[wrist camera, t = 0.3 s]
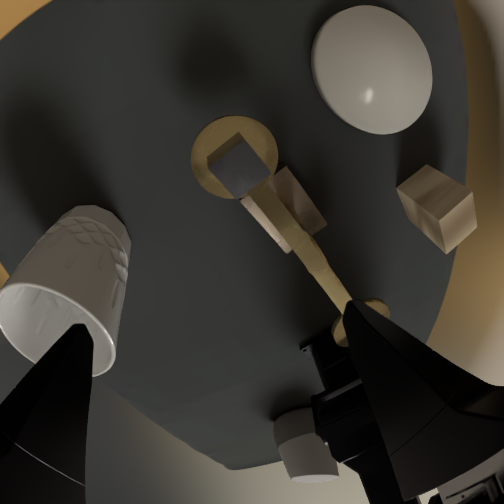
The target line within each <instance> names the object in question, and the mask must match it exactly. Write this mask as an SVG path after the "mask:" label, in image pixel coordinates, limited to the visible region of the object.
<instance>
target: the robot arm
mask: <svg viewBox="0 0 504 504" xmlns="http://www.w3.org/2000/svg"><path fill="white" fill-rule="evenodd" d="M342 323H343V327H344V330H345V333H346V337H347V340H348V344H349V347H342V346H340V345H338V344H337V343H336V341H335V339H334V337H333V335H332V328H331V329H329V330H327V331H326V332H324V333H323V334H321V335H319V336H318V337H316V338H315V339H313V340H311V341H310V342H308V343H306V344H305V345H303V346H301V347H300V351H301V353H302V354H304V355H305V356H306V357H308V358H309V359H311V360H312V361H313V362H315V364H316V367H317V369H318V372H319V375H320V377H321V380H322V383H323V386H324V388H325V391H323V392H321V393H319V394H317V395H313V396H311V407H312V413H313V419H314V424H315V434H316V436H318V437H320V438H321V439H322V441H323V442H324V443H325V444H326V445H327V446H329V449H330V453H331V456H332V457H333V458H334V459H335V460H336V461H337V462H339V463H343V464H345V465H346V466H348V467H349V468H351V469H352V470H354V471H356V472H357V473H358V474H359V476H360V479H361V481H362V484H363V487H364V489H365V492H366V495H367V497H368V500H369V503H370V504H421V501H420V499H419V495H422V494H424V493H426V492H428V491H431V490H433V489H435V488H437V489H438V491H439V493H437V494H436V495H434V496H432V497H431V498H430V500H429V502H428V504H504V386H494V385H491V384H488V383H486V382H484V381H483V380H481V379H479V378H477V377H476V376H474V375H472V374H470V373H469V372H467V371H465V370H463V369H462V368H460V367H458V366H456V365H455V364H453V363H451V362H450V361H449V360H447V359H446V358H444V357H443V356H441V355H440V354H438V353H437V352H435V351H433V350H432V349H431V348H430V347H428V346H427V345H425V344H424V343H422V342H421V341H420V340H418V339H417V338H415V337H414V336H412V335H411V334H409V333H408V332H407V331H405V330H404V329H402V328H401V327H399V326H398V325H396V324H395V323H393V322H392V321H390V320H389V319H387V318H386V317H385V316H383V315H382V314H380V313H379V312H377V311H376V310H374V309H373V308H371V307H370V306H368V305H367V304H365V303H364V302H362V301H361V300H359V299H355V300H349V301H348V302H347V303H346V306H345V310H344V313H343V317H342ZM93 351H94V342H93V338H92V337H91V335H90V333H89V331H88V329H87V327H86V325H85V324H83V323H75V324H73V325H72V326H71V327H70V328H69V329H68V330H67V331H66V332H65V333H64V334H63V335H62V336H61V337H60V338H59V339H58V340H57V341H56V342H55V343H54V344H53V345H52V346H51V348H50V349H49V350H48V351H47V352H46V353H45V354H44V355H43V356H42V357H41V358H40V359H39V361H38V362H37V363H36V364H35V365H34V366H33V367H32V368H31V369H30V371H29V372H28V373H27V374H26V375H25V377H23V379H22V380H21V381H20V382H19V383H18V384H17V386H16V387H15V388H14V389H13V390H12V391H11V393H10V394H9V395H8V396H7V397H6V398H5V400H4V401H3V402H2V403H1V404H0V504H86V500H85V499H86V498H85V455H86V436H87V423H88V412H89V403H90V394H91V386H92V370H93Z"/></svg>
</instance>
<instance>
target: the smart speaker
mask: <svg viewBox="0 0 504 504" xmlns="http://www.w3.org/2000/svg"><path fill="white" fill-rule="evenodd" d="M273 431H274V438H275V442H276V445H277V448H278V450H279V453H280V455H281V458H282V460H283V462H284V465H285V467H286V469H287V472H288V474H289V476H290V479H291V480H292V481H296V482H305V483H315V482H316V483H317V482H327V481H332V480H335V479H338V478H339V473H338V467H337V462H336V460H335V459H334V458H333V457H332V456H331V453H330V449H329V446H327V445H326V444H325V443H324V442H323V441H322V439H321V438H320V437H318V436H316V434H315V424H314V419H313V413H312V407H300V408H296V409H293V410H290V411H287V412H285V413H284V414H282V415H281V416H279V417H278V418H277V419H276V421H275V423H274V429H273Z"/></svg>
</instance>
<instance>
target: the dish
mask: <svg viewBox="0 0 504 504" xmlns="http://www.w3.org/2000/svg"><path fill="white" fill-rule="evenodd" d="M311 69H312V75H313V79H314V82H315V85H316V87H317V90H318V92H319V94H320V96H321V97H322V99H323V101H324V102H325V104H326V105H327V106H328V108H329V109H330V110H331V111H332V112H333V113H334V114H335V115H336V116H338V117H339V118H340V119H341V120H343V121H344V122H346V123H347V124H349V125H351V126H354V127H356V128H358V129H361V130H363V131H366V132H369V133H374V134H392V133H396V132H399V131H401V130H404V129H405V128H407V127H409V126H410V125H411V124H413V123H414V122H415V121H416V120H417V119H418V118H419V117H420V115H421V114H422V112H423V111H424V109H425V107H426V105H427V103H428V100H429V97H430V93H431V88H432V68H431V63H430V59H429V56H428V53H427V50H426V48H425V46H424V44H423V42H422V40H421V38H420V37H419V35H418V34H417V33H416V31H415V30H414V29H413V28H412V27H411V26H410V25H409V24H408V23H407V22H406V21H405V20H404V19H402V18H401V17H400V16H398V15H396V14H395V13H393V12H391V11H389V10H386V9H384V8H380V7H376V6H369V5H364V6H355V7H351V8H348V9H346V10H343V11H340V12H338V13H336V14H334V15H333V16H331V17H330V18H329V19H327V20H326V21H325V22H324V23H323V25H322V26H321V27H320V29H319V30H318V32H317V34H316V36H315V39H314V41H313V45H312V49H311Z"/></svg>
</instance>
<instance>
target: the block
mask: <svg viewBox="0 0 504 504" xmlns="http://www.w3.org/2000/svg"><path fill="white" fill-rule="evenodd" d="M396 189H397V192H398V194H399V197H400V199H401V202H402V204H403V207H404V209H405V212H406V214H407V217H408V219H409V220H410V221H411V222H412V223H413V224H414V225H415V226H417V227H418V228H419V229H420V230H421V231H422V232H423V233H424V234H425V235H427V236H428V237H429V238H430V239H431V240H432V241H433V242H434V243H435V244H436V245H437V246H438V247H439V248H440V249H441V250H442V251H443V252H444V253H446V254H447V253H449V252H450V251H451V250H452V249H453V248H454V247H455V246H457V245H458V244H459V243H460V242H461V241H462V240H463V239H464V238H466V237H467V236H468V235H469V234H470V233H471V232H472V231H473V230H474V229H475V228H476V227H477V223H476V214H475V206H474V199H473V193H472V191H470V190H469V189H467V188H466V187H464V186H463V185H461V184H460V183H458V182H456V181H455V180H453V179H451V178H450V177H448V176H446V175H445V174H443V173H441V172H440V171H438V170H436V169H434V168H433V167H431V166H429V165H427V164H426V165H425V166H424V167H422V168H421V169H420V170H418V171H417V172H416V173H415V174H413V175H412V176H411V177H409V178H408V179H407V180H406V181H404V182H403V183H402V184H400V185H399V186H398V187H396Z"/></svg>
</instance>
